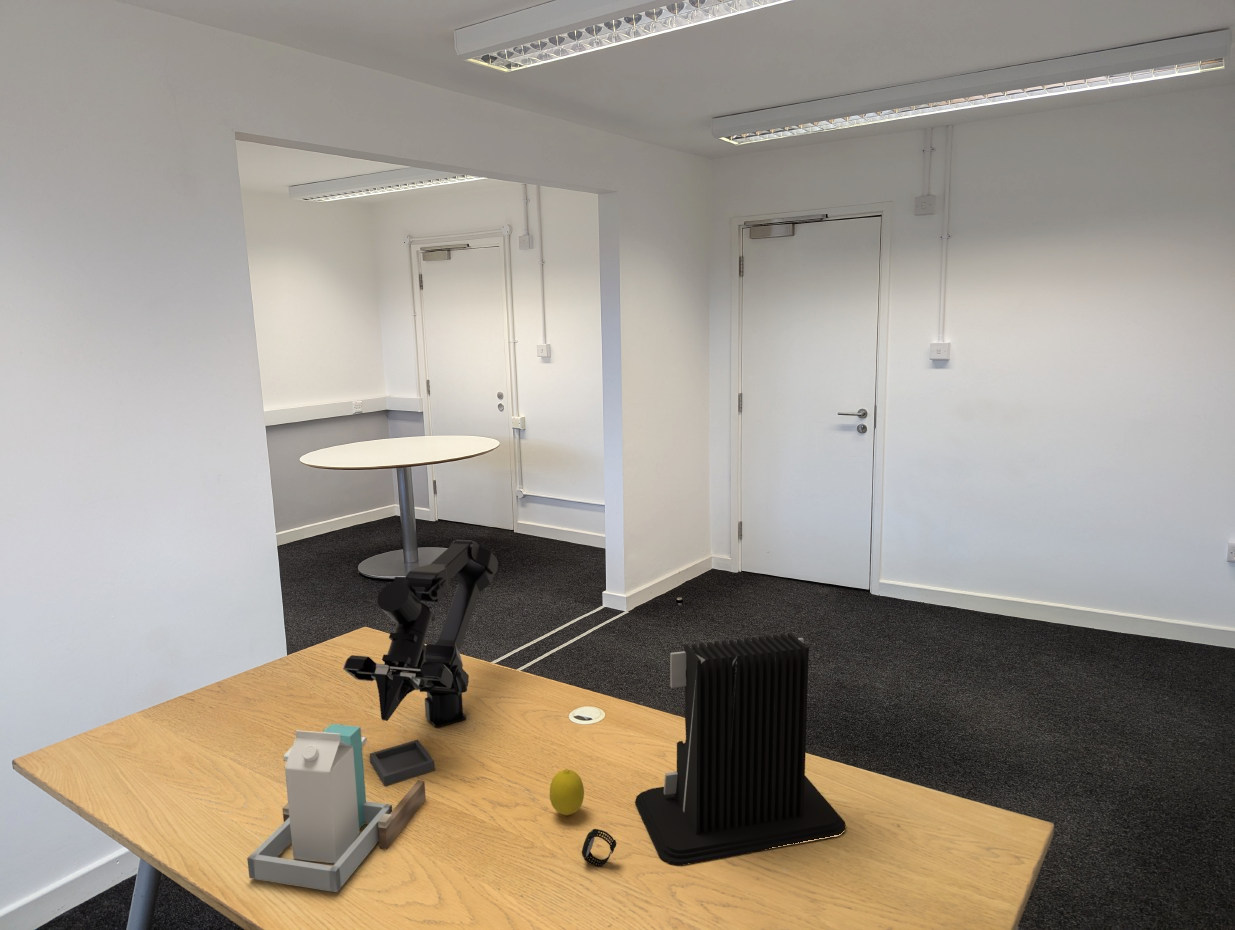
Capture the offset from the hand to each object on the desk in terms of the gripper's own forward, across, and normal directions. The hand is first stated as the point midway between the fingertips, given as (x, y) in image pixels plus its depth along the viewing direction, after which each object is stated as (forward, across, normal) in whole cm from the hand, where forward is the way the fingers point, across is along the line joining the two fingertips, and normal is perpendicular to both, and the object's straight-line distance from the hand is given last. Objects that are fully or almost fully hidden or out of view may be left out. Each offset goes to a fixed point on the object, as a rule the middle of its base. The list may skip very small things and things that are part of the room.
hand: (384, 720), depth 138 cm
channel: (+15, 0, -1) cm, 15 cm away
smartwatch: (+18, -41, +1) cm, 45 cm away
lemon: (+10, -33, -6) cm, 35 cm away
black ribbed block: (+7, -60, -10) cm, 61 cm away
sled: (+22, 0, +6) cm, 23 cm away
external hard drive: (+4, +17, -14) cm, 22 cm away
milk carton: (+21, 0, +5) cm, 22 cm away
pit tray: (+5, 0, -12) cm, 13 cm away
